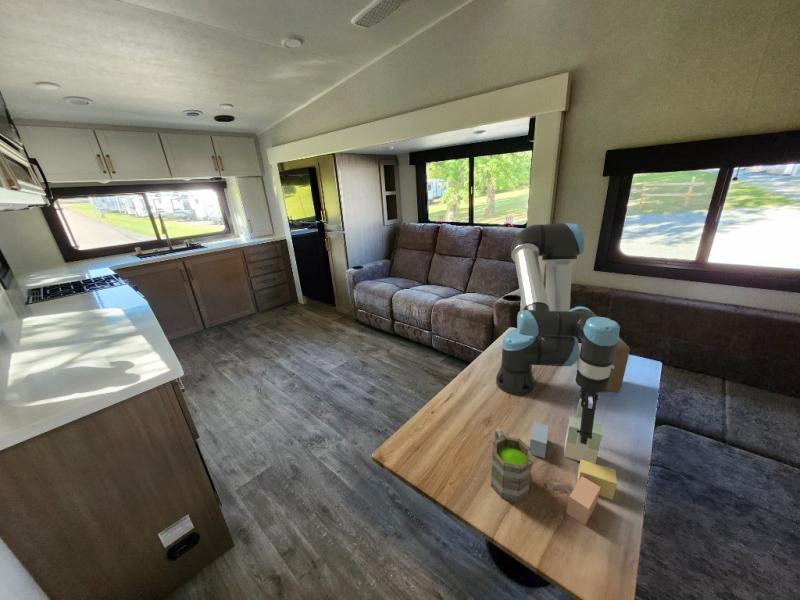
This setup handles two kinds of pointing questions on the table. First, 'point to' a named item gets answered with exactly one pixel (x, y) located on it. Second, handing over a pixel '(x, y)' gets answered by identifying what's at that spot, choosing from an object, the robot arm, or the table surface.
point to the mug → (511, 467)
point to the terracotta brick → (583, 500)
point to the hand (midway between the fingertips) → (581, 432)
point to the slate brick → (539, 439)
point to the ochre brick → (599, 477)
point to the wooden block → (618, 367)
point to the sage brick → (573, 434)
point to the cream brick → (579, 453)
